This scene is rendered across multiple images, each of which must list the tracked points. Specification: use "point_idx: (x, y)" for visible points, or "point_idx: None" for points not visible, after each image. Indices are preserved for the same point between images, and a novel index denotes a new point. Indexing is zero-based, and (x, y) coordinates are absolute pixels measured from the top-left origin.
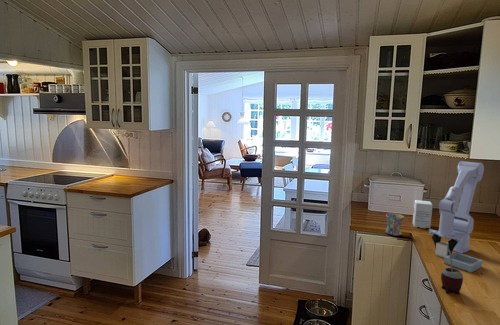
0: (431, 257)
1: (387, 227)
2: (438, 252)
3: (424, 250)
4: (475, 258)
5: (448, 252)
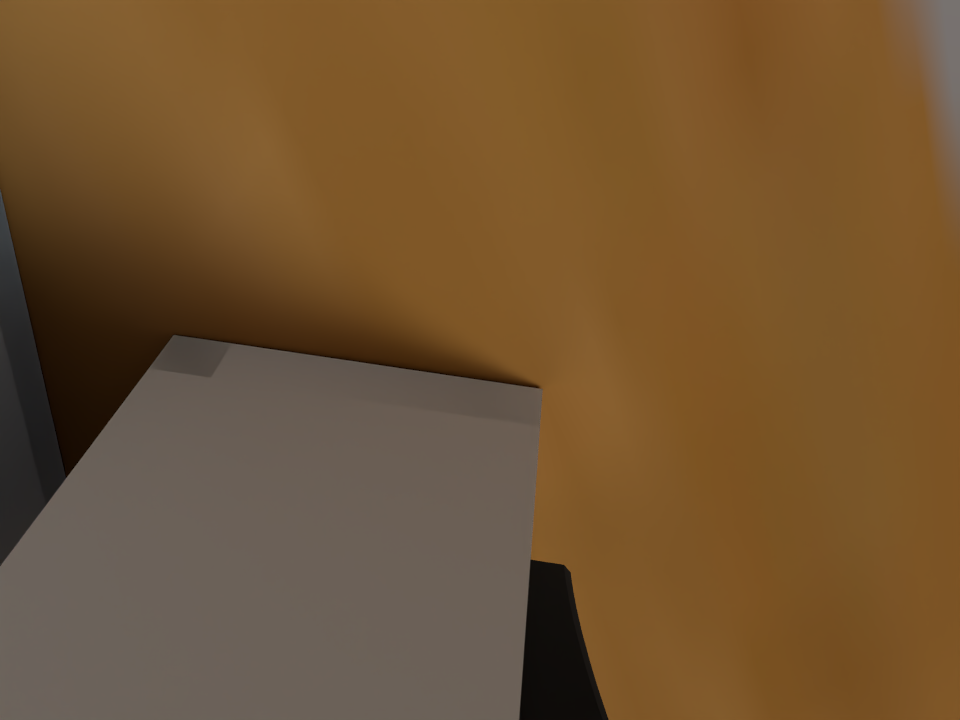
0: (561, 53)
1: None
2: (418, 464)
3: (935, 535)
4: None
5: None
